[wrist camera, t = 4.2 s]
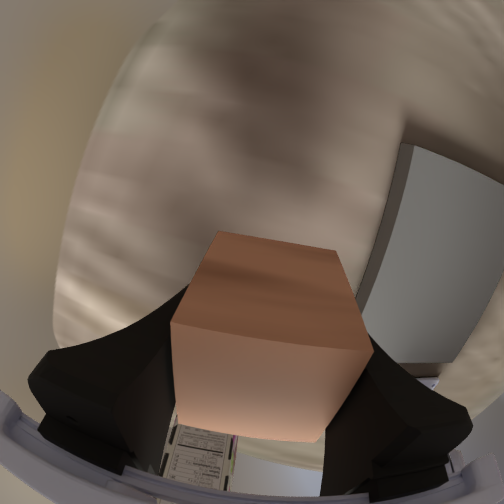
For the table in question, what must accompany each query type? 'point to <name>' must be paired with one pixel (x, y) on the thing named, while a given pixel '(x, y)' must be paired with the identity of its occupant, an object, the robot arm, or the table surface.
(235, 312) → the block
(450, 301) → the board
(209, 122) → the table surface
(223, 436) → the candy bar box
